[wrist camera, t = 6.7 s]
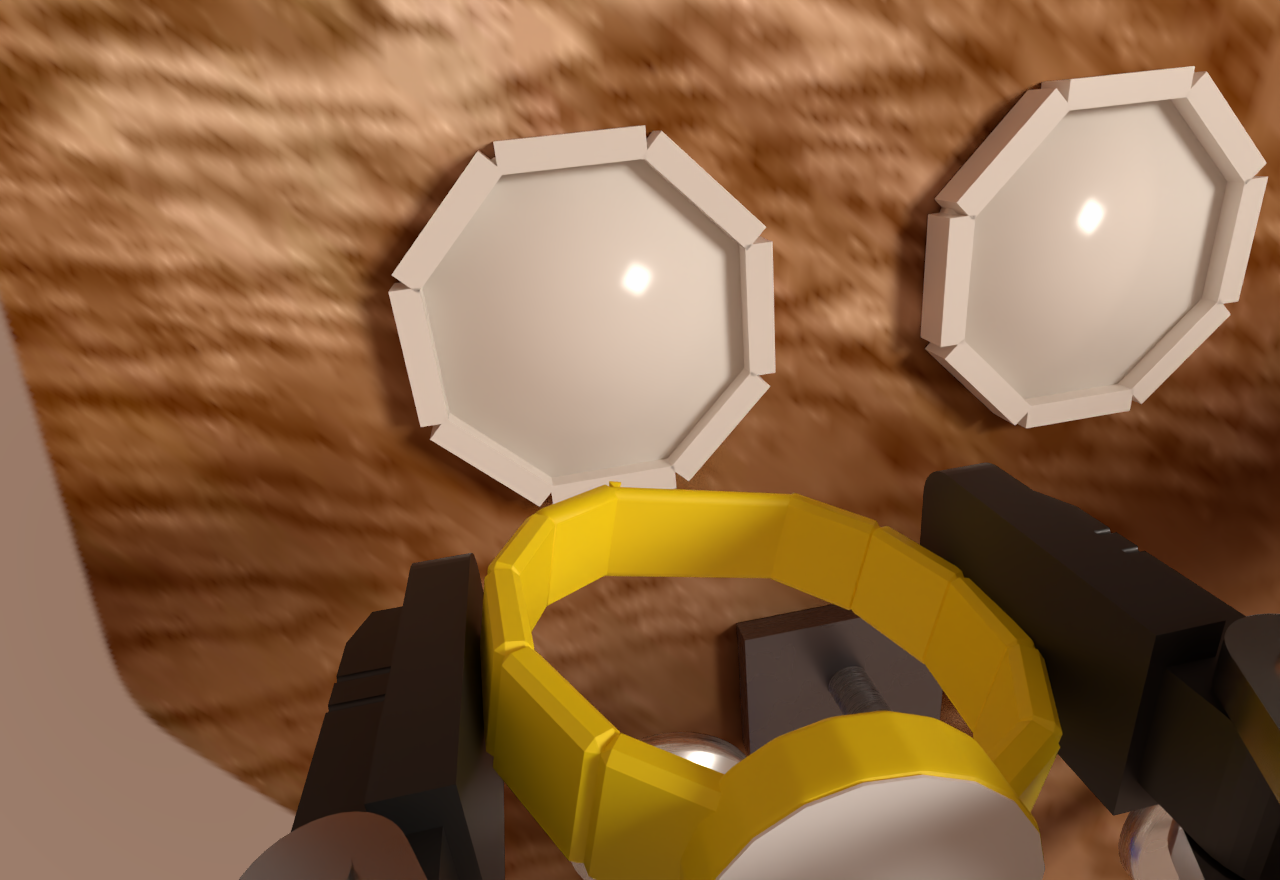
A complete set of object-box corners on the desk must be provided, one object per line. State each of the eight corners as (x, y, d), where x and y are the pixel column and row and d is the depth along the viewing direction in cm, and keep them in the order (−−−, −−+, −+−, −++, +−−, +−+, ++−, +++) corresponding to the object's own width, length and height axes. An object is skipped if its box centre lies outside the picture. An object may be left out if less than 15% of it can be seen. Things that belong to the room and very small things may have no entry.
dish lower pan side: (754, 112, 20) (769, 112, 19) (765, 455, 25) (777, 471, 23) (364, 154, 19) (356, 156, 18) (447, 509, 23) (444, 528, 22)
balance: (1105, 546, 29) (1845, 1054, 13) (1081, 672, 32) (1674, 1223, 16) (543, 657, 26) (612, 1470, 10) (567, 785, 29) (653, 1593, 13)
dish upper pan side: (1258, 58, 22) (1296, 55, 21) (1186, 384, 27) (1215, 395, 25) (935, 93, 21) (959, 91, 20) (914, 430, 25) (933, 444, 24)
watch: (492, 593, 11) (427, 1053, 5) (505, 420, 10) (441, 771, 4) (869, 614, 12) (1141, 1026, 6) (917, 457, 11) (1290, 788, 5)
